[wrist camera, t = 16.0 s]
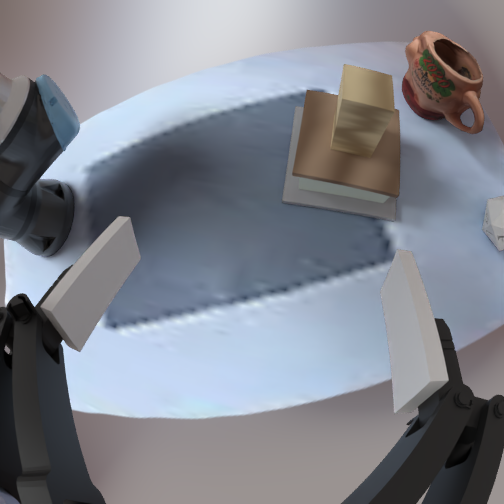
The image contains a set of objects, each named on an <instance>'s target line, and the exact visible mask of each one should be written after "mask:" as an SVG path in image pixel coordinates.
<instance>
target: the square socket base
mask: <svg viewBox="0 0 504 504" xmlns="http://www.w3.org/2000/svg"><path fill="white" fill-rule="evenodd" d="M303 110H304V107H297V106H296V107H295V114H294V121H293V129H292V136H291V143H290V150H289V157H288V164H287V171H286V177H285V184H284V191H283V197H282V203H286V204H293V205H300V206H307V207H313V208H320V209H326V210H332V211H338V212H344V213H350V214H356V215H361V216H367V217H372V218H378V219H383V220H388V221H395V220H396V198H394V197H390V196H386V195H382V194H378V193H374V192H370V191H365V190H361V189H356V188H352V187H347V186H343V185H338V184H333V183H328V182H323V181H318V180H312V179H307V178H301V177H296V176H292V172H293V166H294V161H295V155H296V150H297V144H298V139H299V133H300V127H301V121H302V116H303Z"/></svg>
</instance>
